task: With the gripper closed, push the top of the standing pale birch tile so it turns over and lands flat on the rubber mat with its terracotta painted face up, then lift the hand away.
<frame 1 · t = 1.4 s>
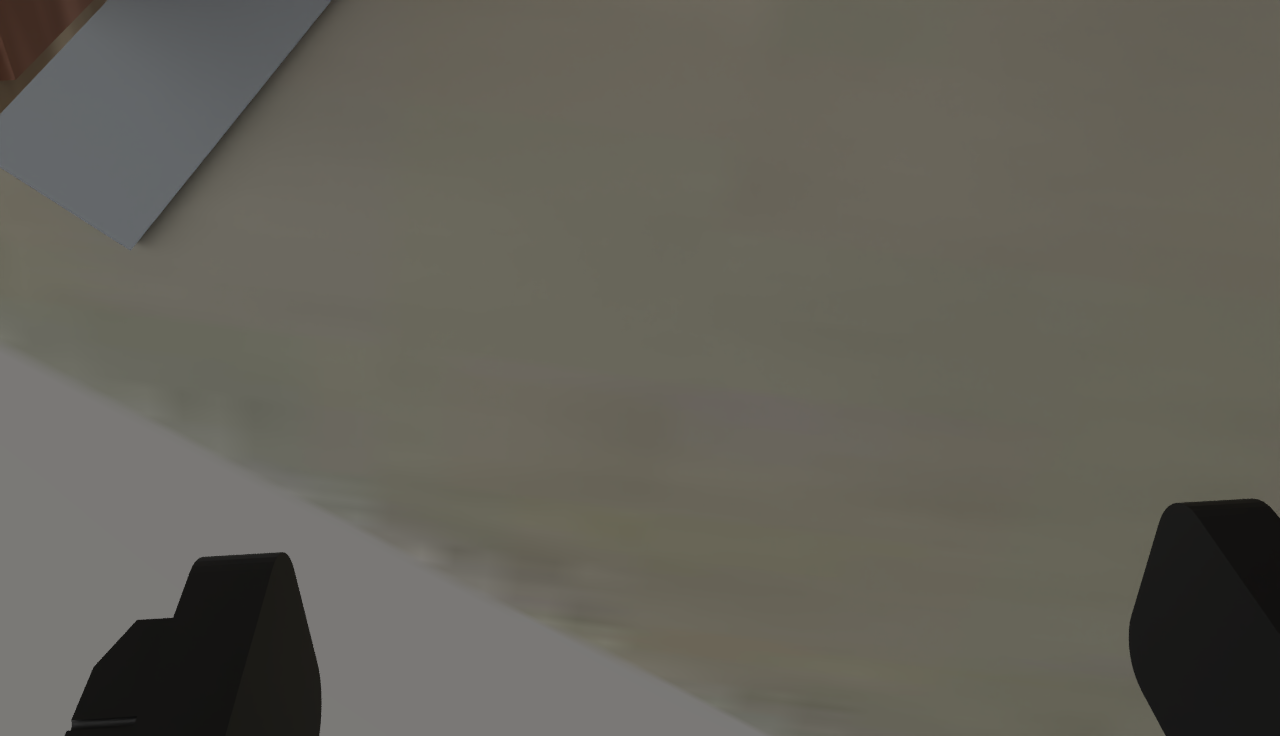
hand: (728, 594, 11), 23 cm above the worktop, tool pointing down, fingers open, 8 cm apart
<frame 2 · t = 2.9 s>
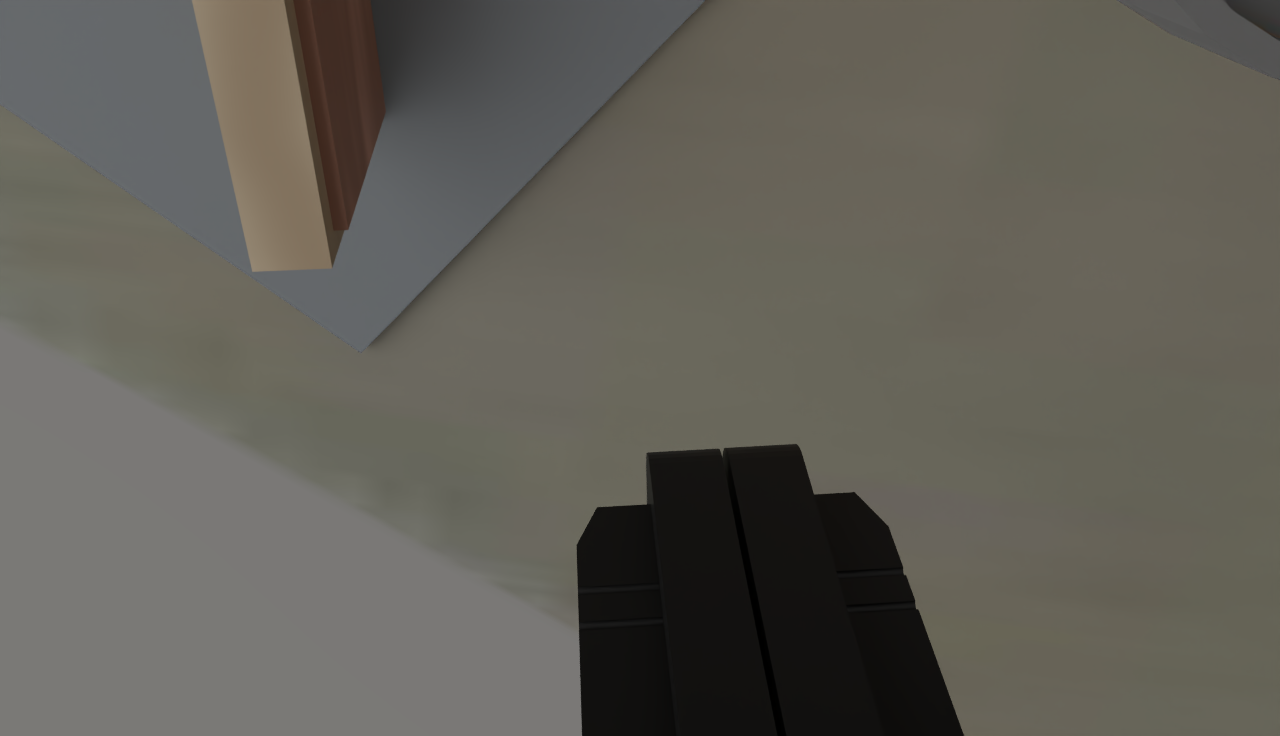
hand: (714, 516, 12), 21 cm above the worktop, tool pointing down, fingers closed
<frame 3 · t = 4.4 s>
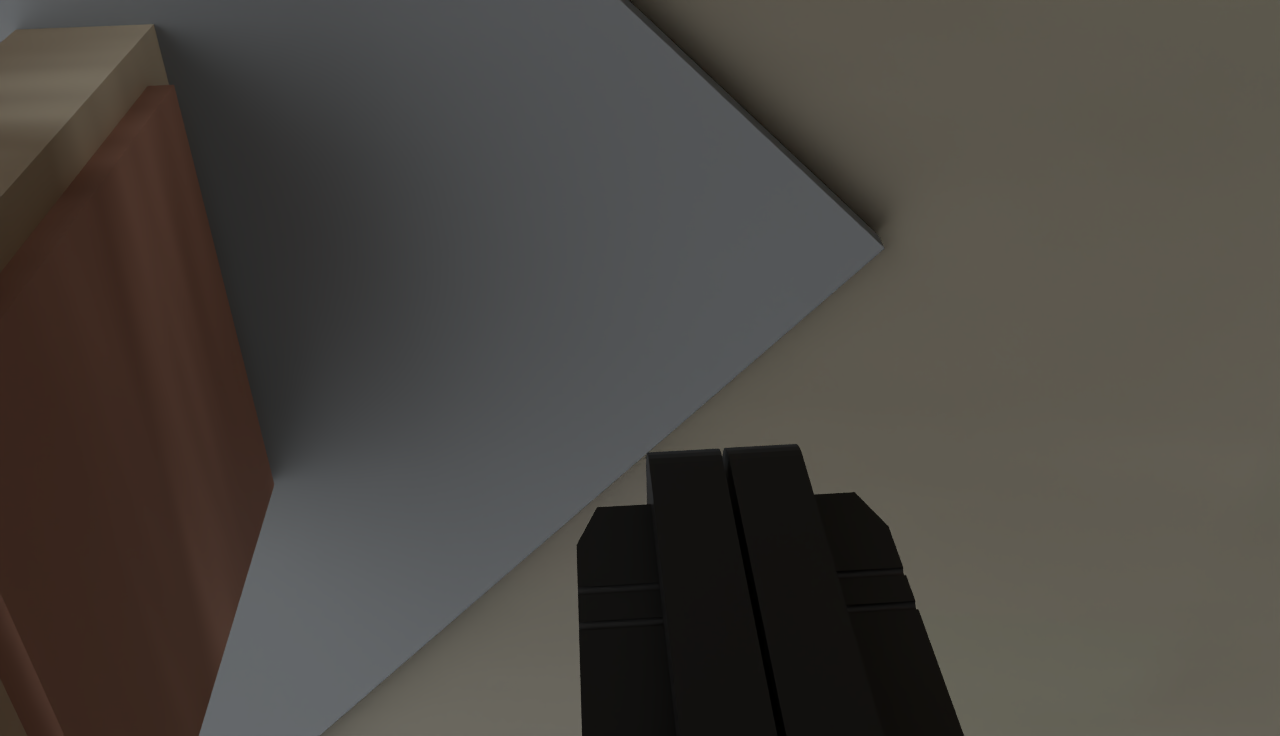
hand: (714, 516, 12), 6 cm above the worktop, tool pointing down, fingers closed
birch tile: (158, 284, 16), resting on rubber mat
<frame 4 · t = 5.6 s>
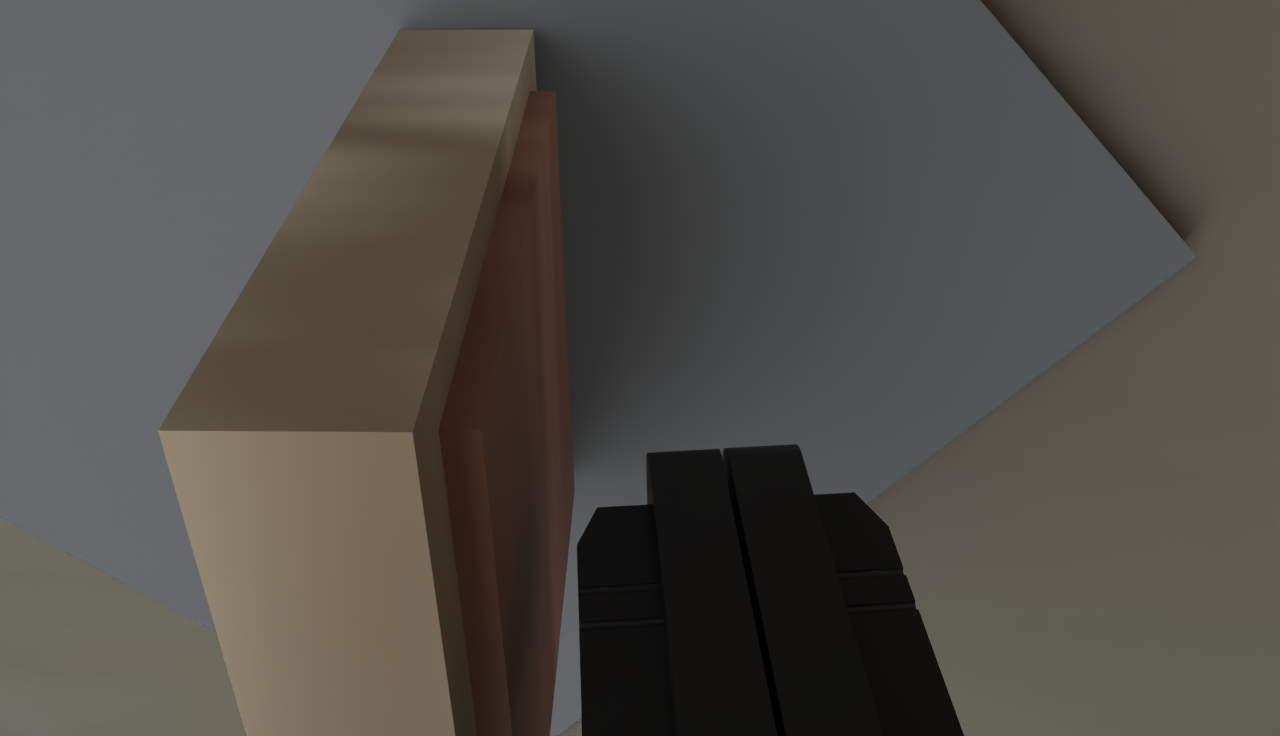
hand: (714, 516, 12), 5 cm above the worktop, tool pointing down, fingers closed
rubber mat: (288, 156, 15), on the worktop
birch tile: (488, 285, 16), resting on rubber mat
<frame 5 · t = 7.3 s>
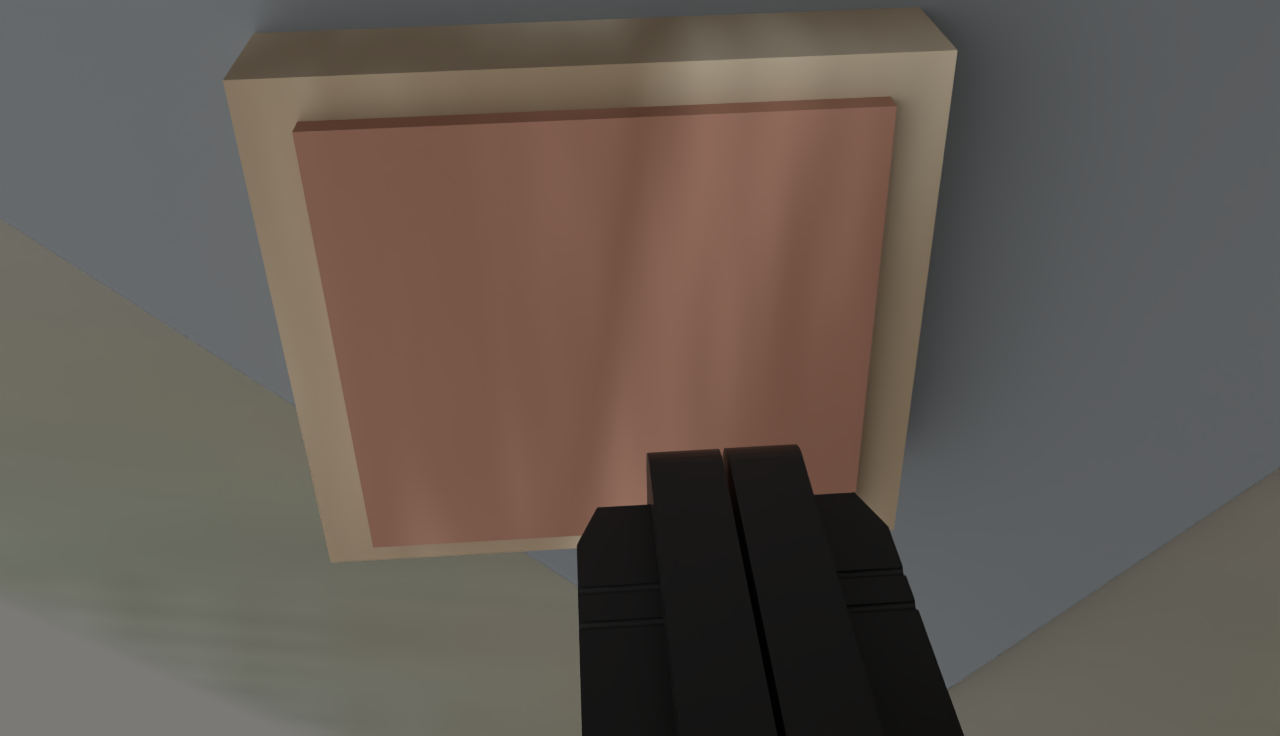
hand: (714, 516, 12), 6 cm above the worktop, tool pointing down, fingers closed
rubber mat: (779, 134, 16), on the worktop
birch tile: (905, 289, 16), point 1 cm above the worktop, tilted 90°, touching rubber mat
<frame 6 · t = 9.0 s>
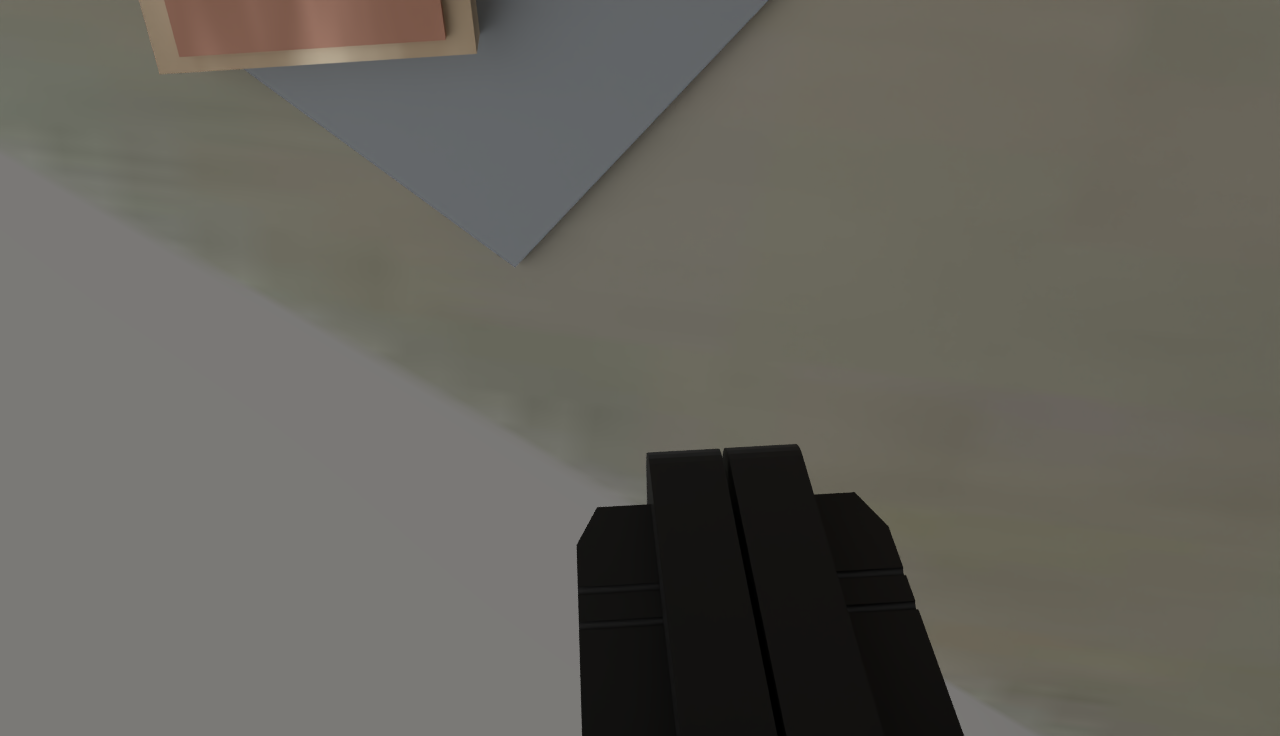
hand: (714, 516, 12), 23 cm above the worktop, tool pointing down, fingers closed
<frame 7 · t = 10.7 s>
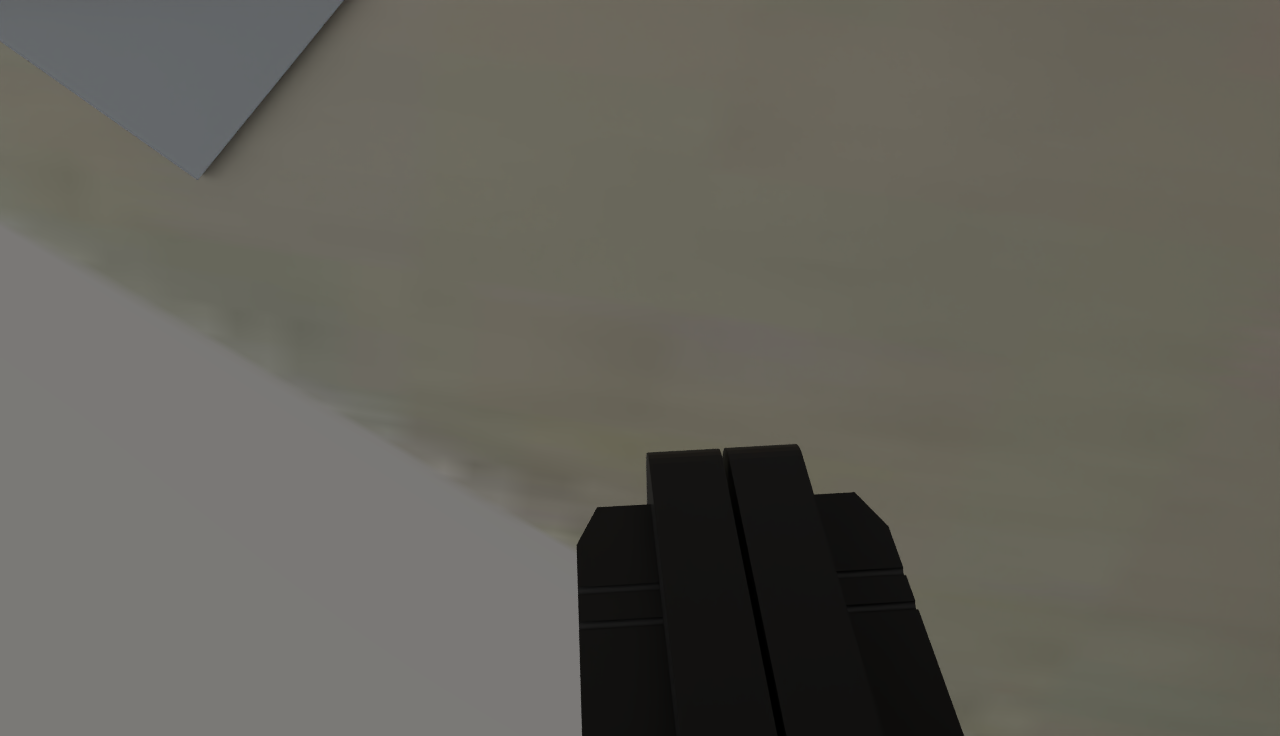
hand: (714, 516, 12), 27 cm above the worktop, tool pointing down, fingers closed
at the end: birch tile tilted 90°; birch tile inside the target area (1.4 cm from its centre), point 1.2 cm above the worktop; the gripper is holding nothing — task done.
